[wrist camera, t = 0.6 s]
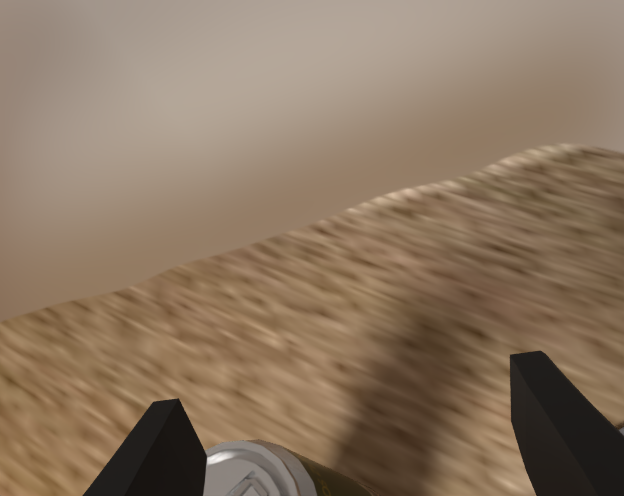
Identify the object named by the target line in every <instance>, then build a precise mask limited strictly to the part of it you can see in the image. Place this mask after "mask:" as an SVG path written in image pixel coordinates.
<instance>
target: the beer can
mask: <svg viewBox="0 0 624 496" xmlns="http://www.w3.org/2000/svg"><path fill="white" fill-rule="evenodd" d="M205 453H206V455H207V465H206V476H205V485H204V494H203V496H380V495H379V494H377V493H376V492H375V491H373V490H372V489H371V488H369V487H367V486H365V485H363V484H360V483H358V482H356V481H354V480H352V479H350V478H348V477H346V476H344V475H341V474H339V473H337V472H335V471H333V470H331V469H329V468H327V467H325V466H322V465H320V464H318V463H316V462H314V461H312V460H310V459H308V458H306V457H303V456H301V455H299V454H297V453H295V452H293V451H291V450H289V449H287V448H284V447H282V446H280V445H277V444H273V443H270V442H266V441H263V440H259V439H258V440H248V441H244V440H242V441H231V442H222V443H220V444H218V445H216V446H214V447H212V448H209V449H207V450H205Z"/></svg>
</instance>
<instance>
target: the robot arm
mask: <svg viewBox="0 0 624 496" xmlns="http://www.w3.org/2000/svg"><path fill="white" fill-rule="evenodd" d="M510 387H511V422H512V426H513V429H514V432H515V436H516V439H517V443H518V446H519V449H520V453H521V456H522V459H523V462H524V465H525V469H526V471H527V474H528V476H529V479H530V481H531V483H532V486H533V488H534V491H535V493H536V495H537V496H624V435H623V434H622V433H621V432H620V431H619V430H618V429H617V428H616V427H614V426H613V425H612V424H611V423H610V422H609V421H608V420H607V419H606V418H605V417H604V416H603V415H602V414H601V413H600V412H599V411H598V410H597V409H596V408H595V407H594V406H593V405H592V404H591V403H590V402H589V401H588V400H587V399H586V398H585V397H584V396H583V395H582V394H581V392H580V391H579V390H578V389H577V388H576V387H575V386H574V385H573V384H572V383H571V382H570V381H569V380H568V379H567V378H566V376H565V375H564V374H563V373H562V372H561V371H560V370H559V369H558V368H557V366H556V365H555V364H554V363H553V362H552V361H551V360H550V358H549V357H548V356H547V355H546V354H545V353H543V352H542V351H535V352H527V353H519V354H512V355H510ZM206 465H207V455H206V453H205V451H204V449H203V446H202V444H201V442H200V440H199V438H198V436H197V434H196V432H195V430H194V428H193V426H192V424H191V422H190V420H189V418H188V416H187V414H186V412H185V410H184V408H183V406H182V404H181V402H180V400H179V399H171V400H163V401H156V402H153V403H152V404H151V406H150V407H149V408H148V410H147V411H146V412H145V413H144V415H143V416H142V418H141V419H140V420H139V422H138V423H137V424H136V426H135V427H134V428H133V430H132V431H131V432H130V434H129V435H128V436H127V438H126V439H125V440H124V442H123V443H122V445H121V446H120V447H119V449H118V450H117V451H116V453H115V454H114V455H113V457H112V458H111V459H110V461H109V462H108V463H107V465H106V466H105V467H104V469H103V470H102V471H101V472H100V474H99V475H98V476H97V478H96V479H95V480H94V482H93V483H92V484H91V486H90V487H89V488H88V489H87V491H86V492H85V493H84V494H83V496H203V494H204V485H205V476H206Z"/></svg>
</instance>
